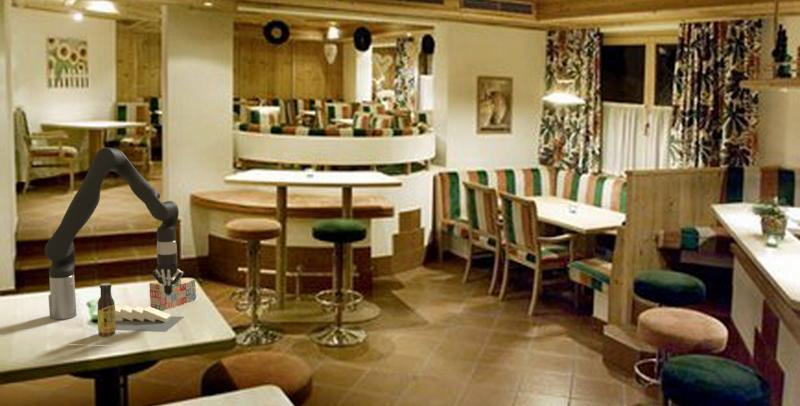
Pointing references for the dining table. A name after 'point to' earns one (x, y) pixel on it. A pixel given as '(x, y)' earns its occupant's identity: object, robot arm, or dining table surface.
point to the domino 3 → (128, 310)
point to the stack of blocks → (172, 294)
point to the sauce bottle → (106, 312)
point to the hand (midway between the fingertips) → (168, 294)
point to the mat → (147, 324)
